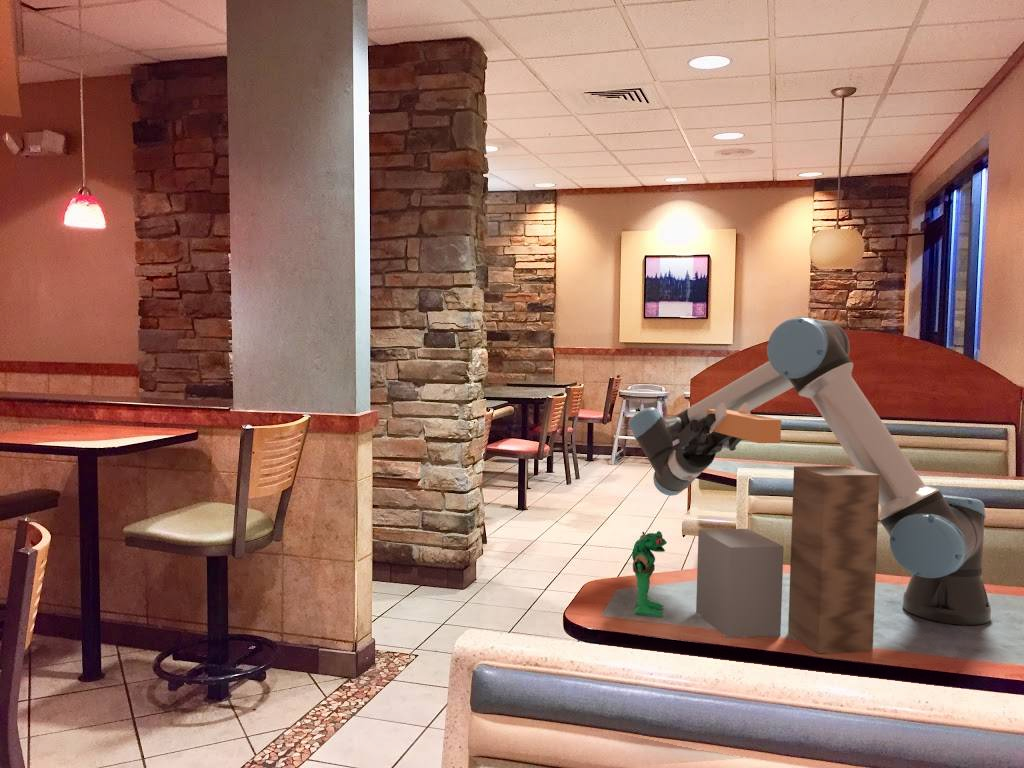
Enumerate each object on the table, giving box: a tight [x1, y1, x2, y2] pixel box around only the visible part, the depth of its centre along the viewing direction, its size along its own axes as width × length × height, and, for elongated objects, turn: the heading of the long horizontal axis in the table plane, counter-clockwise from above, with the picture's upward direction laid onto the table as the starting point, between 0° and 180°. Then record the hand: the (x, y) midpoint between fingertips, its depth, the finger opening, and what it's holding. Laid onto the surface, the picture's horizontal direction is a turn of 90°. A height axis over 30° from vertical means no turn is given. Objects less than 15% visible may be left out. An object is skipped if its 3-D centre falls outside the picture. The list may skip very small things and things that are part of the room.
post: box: [787, 465, 880, 655], centre depth 142 cm, size 10×10×30 cm
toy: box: [631, 530, 668, 618], centre depth 158 cm, size 26×6×15 cm, turn 168°
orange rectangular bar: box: [707, 409, 782, 444], centre depth 150 cm, size 4×22×4 cm, turn 10°
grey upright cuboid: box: [695, 528, 785, 639], centre depth 151 cm, size 10×14×16 cm
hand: (735, 409), depth 153 cm, fingers closed on orange rectangular bar, 4 cm apart
